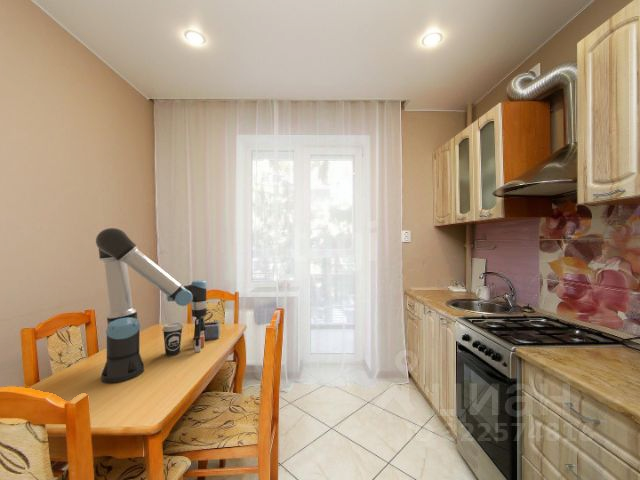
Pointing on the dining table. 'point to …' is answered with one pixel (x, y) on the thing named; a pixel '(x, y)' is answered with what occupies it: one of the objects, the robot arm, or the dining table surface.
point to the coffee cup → (172, 338)
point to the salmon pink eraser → (201, 342)
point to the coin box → (211, 330)
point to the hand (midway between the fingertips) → (199, 346)
